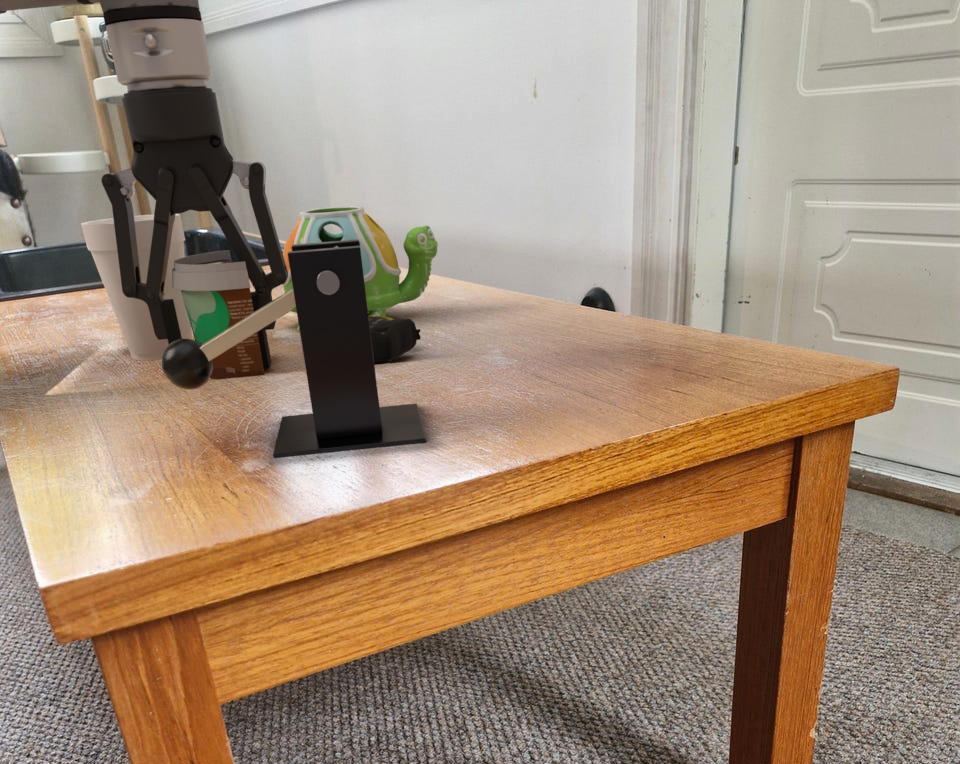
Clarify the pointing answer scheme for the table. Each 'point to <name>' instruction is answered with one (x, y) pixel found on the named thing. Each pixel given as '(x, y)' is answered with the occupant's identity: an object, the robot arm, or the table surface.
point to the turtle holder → (370, 254)
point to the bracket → (339, 360)
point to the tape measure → (391, 337)
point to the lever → (217, 345)
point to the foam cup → (132, 310)
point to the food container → (219, 308)
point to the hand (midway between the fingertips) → (224, 369)
